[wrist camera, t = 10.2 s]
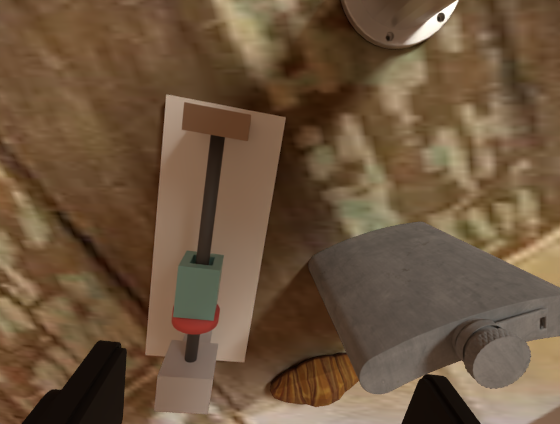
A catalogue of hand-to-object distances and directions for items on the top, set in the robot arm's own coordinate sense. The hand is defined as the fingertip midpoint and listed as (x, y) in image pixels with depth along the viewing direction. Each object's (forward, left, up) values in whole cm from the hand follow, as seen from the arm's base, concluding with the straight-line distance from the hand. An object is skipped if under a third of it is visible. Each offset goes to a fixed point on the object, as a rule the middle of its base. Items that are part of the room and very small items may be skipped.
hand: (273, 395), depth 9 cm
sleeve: (+6, -5, -20) cm, 22 cm away
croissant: (+21, +12, -26) cm, 35 cm away
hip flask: (+3, +14, -26) cm, 29 cm away
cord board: (+5, -5, -25) cm, 26 cm away
